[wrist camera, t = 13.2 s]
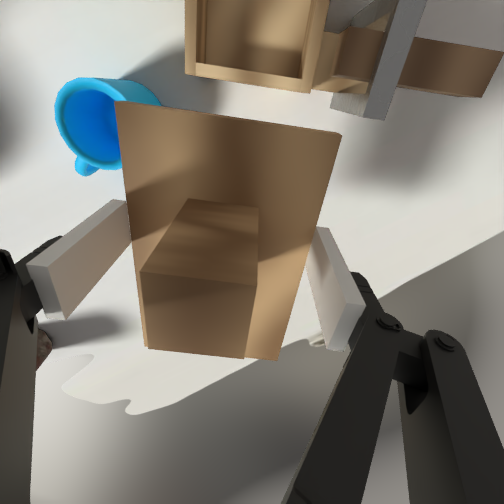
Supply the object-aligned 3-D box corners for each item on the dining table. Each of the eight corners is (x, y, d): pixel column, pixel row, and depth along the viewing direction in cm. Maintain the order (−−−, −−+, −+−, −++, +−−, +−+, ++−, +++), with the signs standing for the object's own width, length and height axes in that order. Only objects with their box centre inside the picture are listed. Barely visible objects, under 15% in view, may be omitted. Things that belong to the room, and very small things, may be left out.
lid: (149, 336, 22) (100, 444, 16) (123, 100, 13) (-22, 112, 6) (276, 350, 23) (283, 460, 16) (337, 132, 14) (412, 175, 7)
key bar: (329, 76, 24) (338, 74, 21) (340, 33, 22) (350, 26, 19) (458, 96, 24) (481, 97, 22) (477, 56, 23) (504, 52, 20)
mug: (121, 61, 29) (78, 53, 23) (180, 119, 32) (157, 128, 25) (73, 142, 34) (25, 155, 27) (128, 186, 37) (97, 209, 30)
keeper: (329, 108, 31) (362, 117, 21) (352, 17, 27) (407, -26, 17) (344, 110, 31) (384, 120, 21) (369, 20, 27) (434, -21, 17)
